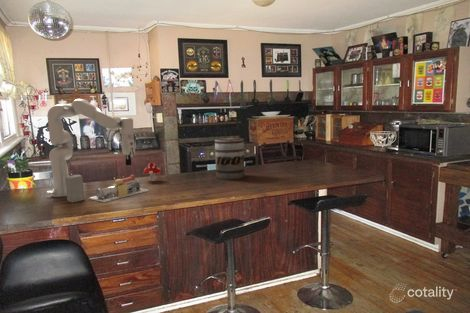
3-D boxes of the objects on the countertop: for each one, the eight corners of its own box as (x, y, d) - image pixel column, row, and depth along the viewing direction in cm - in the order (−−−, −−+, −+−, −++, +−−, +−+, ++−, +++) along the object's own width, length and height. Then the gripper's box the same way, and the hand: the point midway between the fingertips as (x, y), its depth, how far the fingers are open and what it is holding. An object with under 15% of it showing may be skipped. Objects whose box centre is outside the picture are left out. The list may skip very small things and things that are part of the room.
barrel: (223, 181, 269) (222, 141, 265) (211, 176, 289) (210, 139, 285) (249, 177, 280) (249, 139, 275) (236, 173, 299) (235, 137, 295)
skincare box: (79, 198, 228) (77, 174, 226) (85, 200, 224) (83, 175, 221) (66, 201, 222) (64, 176, 219) (72, 203, 217) (69, 177, 215)
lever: (119, 184, 231) (119, 179, 231) (114, 184, 233) (113, 179, 232) (136, 179, 246) (136, 174, 246) (131, 179, 248) (131, 174, 248)
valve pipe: (103, 202, 217) (103, 191, 216) (89, 199, 226) (88, 188, 225) (148, 191, 244) (147, 180, 243) (133, 188, 253) (133, 178, 252)
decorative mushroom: (159, 183, 268) (158, 163, 266) (141, 183, 269) (139, 163, 267) (163, 179, 282) (162, 160, 280) (146, 179, 283) (144, 161, 281)
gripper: (138, 137, 231) (139, 165, 233) (127, 136, 241) (128, 163, 244) (127, 138, 225) (128, 167, 228) (116, 136, 236) (118, 164, 239)
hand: (128, 164), depth 236 cm, fingers closed
